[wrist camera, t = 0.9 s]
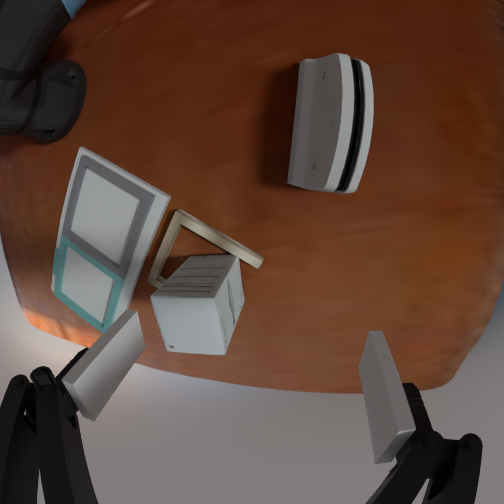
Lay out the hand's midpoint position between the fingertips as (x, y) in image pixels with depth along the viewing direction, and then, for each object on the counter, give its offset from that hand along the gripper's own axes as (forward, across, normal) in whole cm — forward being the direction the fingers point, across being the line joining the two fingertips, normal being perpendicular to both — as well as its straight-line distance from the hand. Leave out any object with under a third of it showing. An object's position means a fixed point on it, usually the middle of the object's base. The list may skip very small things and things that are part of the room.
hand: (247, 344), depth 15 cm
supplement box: (+23, -8, -7) cm, 25 cm away
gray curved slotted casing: (+23, +6, +14) cm, 28 cm away
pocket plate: (+23, -29, -5) cm, 38 cm away
